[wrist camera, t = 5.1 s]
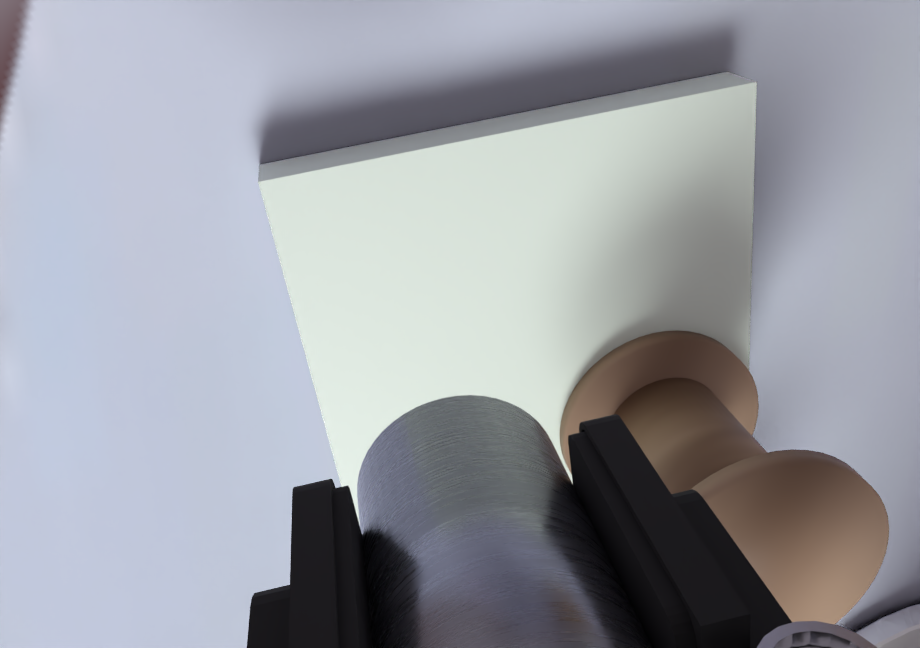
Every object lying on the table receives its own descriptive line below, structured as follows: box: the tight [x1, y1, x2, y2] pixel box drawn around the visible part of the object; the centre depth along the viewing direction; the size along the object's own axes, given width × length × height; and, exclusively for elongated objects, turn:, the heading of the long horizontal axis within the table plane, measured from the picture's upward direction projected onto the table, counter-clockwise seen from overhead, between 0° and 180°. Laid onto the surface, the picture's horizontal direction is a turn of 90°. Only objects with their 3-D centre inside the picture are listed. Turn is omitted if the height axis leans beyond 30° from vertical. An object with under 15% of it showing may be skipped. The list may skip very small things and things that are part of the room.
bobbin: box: [560, 330, 889, 624], centre depth 22 cm, size 6×6×6 cm
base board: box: [258, 72, 757, 525], centre depth 25 cm, size 12×19×2 cm, turn 9°
